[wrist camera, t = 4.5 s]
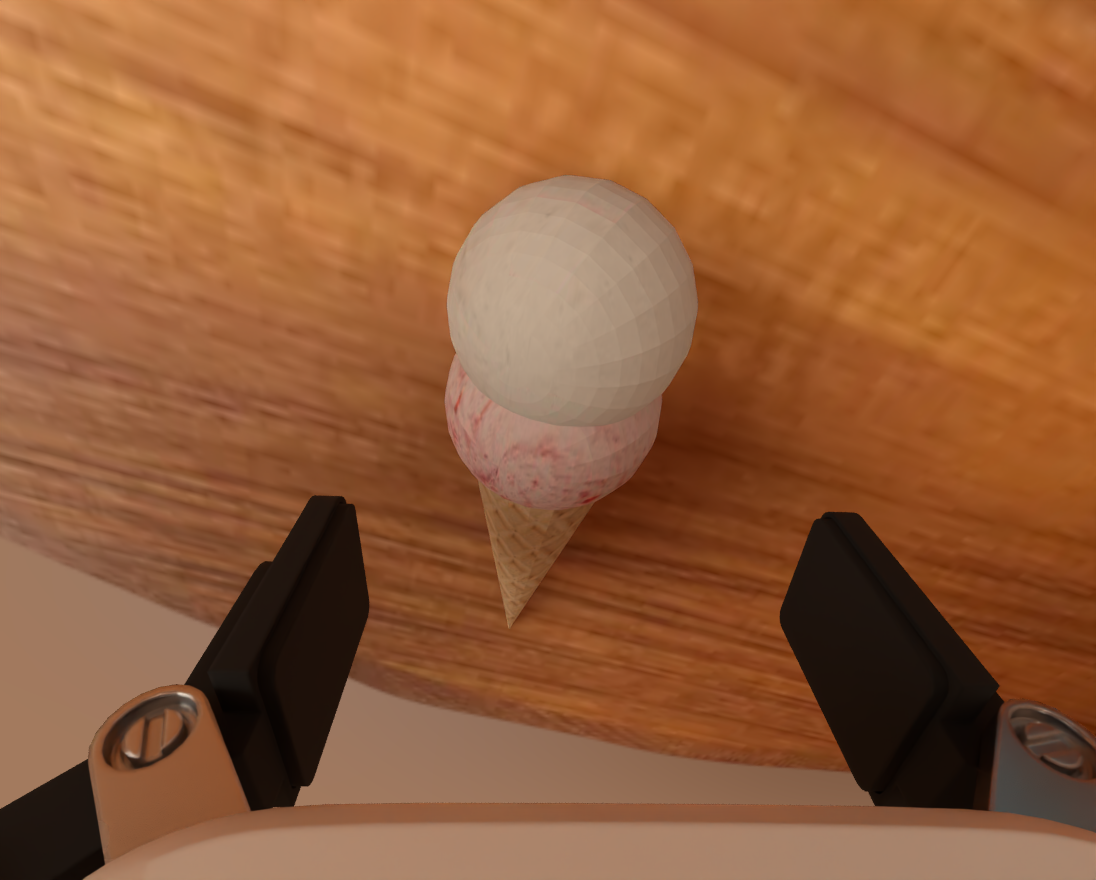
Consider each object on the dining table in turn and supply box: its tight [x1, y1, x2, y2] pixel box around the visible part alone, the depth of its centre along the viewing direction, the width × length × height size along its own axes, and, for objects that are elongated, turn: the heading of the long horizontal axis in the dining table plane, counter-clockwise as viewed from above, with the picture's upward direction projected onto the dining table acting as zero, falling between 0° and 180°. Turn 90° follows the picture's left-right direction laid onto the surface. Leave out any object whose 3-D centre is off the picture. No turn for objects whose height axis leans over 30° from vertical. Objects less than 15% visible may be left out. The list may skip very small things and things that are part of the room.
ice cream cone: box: [445, 175, 698, 628], centre depth 14 cm, size 5×5×15 cm
